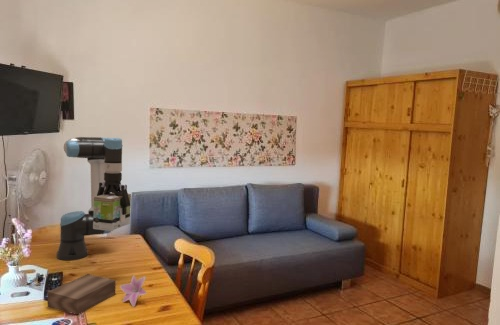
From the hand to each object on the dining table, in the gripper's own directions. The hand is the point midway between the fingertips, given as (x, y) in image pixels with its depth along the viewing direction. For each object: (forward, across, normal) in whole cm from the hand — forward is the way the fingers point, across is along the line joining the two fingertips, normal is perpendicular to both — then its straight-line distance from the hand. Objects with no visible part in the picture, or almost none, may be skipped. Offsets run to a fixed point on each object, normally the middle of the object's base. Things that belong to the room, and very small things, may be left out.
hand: (112, 220), depth 169 cm
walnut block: (+27, +5, -22) cm, 36 cm away
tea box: (+3, 0, 0) cm, 3 cm away
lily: (+28, +24, -14) cm, 39 cm away
